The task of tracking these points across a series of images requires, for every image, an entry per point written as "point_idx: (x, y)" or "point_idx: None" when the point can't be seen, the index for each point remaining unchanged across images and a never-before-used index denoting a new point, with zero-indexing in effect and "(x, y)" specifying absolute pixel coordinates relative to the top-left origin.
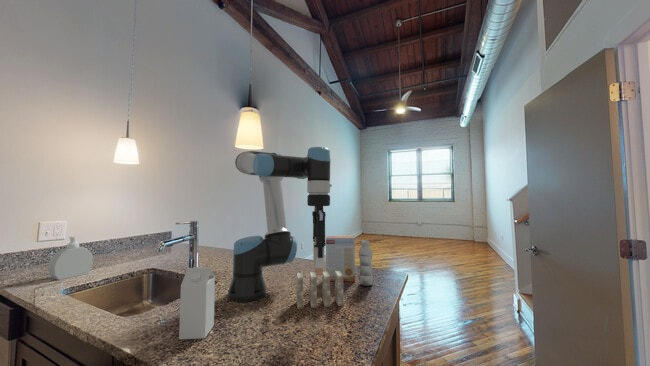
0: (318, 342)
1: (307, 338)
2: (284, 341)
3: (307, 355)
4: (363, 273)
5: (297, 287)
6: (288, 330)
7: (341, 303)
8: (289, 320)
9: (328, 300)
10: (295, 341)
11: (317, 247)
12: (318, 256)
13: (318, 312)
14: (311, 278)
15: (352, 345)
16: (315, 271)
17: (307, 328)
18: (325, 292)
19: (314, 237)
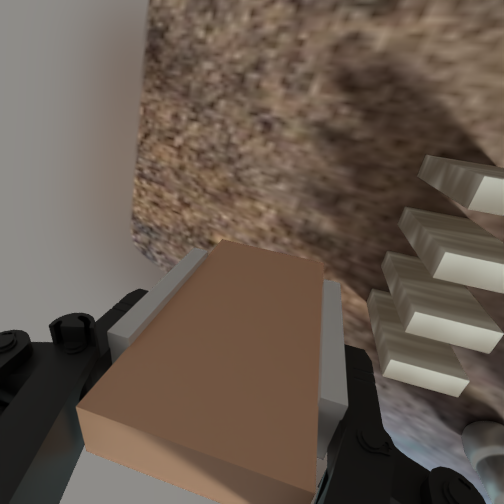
0: (198, 167)
1: (221, 143)
2: (221, 71)
3: (155, 126)
4: (496, 465)
5: (461, 167)
6: (277, 93)
7: (369, 301)
8: (342, 106)
9: (386, 271)
10: (214, 106)
11: (109, 341)
12: (128, 294)
13: (356, 218)
14: (442, 250)
15: (175, 234)
16: (273, 253)
17: (270, 156)
18: (396, 276)
19: (327, 484)
